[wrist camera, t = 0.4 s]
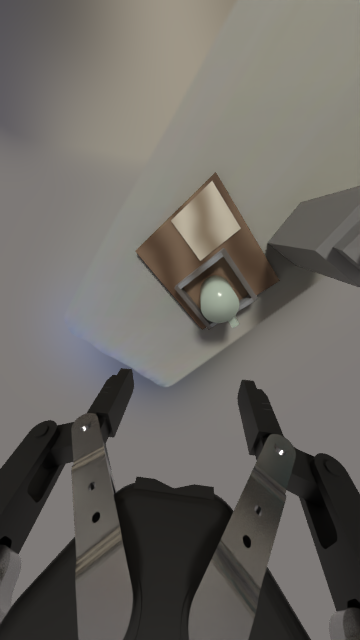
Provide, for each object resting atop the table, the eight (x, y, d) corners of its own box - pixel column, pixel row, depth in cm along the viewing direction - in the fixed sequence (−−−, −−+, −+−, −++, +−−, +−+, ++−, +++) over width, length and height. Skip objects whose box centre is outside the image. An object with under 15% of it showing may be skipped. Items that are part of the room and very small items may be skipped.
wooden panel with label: (215, 174, 26) (217, 167, 24) (277, 279, 32) (284, 283, 30) (137, 250, 32) (131, 252, 29) (201, 327, 38) (202, 334, 35)
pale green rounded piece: (219, 268, 31) (225, 279, 24) (242, 301, 34) (254, 320, 27) (194, 287, 33) (193, 302, 26) (217, 317, 36) (222, 339, 28)
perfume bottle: (330, 229, 28) (507, 226, 12) (296, 265, 31) (402, 302, 15) (300, 202, 27) (452, 159, 11) (267, 242, 30) (349, 256, 14)
